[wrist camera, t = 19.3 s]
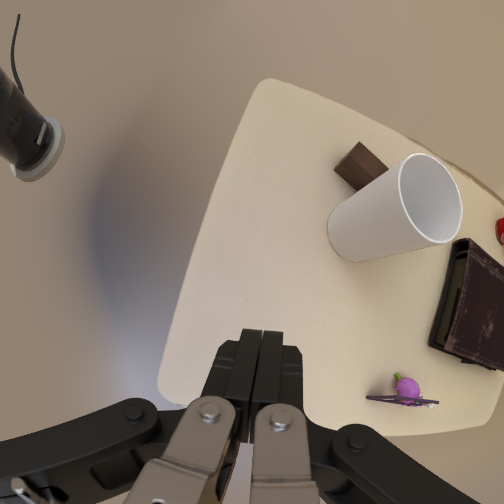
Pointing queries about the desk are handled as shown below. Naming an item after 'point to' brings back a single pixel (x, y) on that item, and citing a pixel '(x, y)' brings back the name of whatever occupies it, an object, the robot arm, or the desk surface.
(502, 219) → the soda can
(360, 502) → the robot arm
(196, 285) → the desk surface
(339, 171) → the bar
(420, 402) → the packaged eggplant toy
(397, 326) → the desk surface
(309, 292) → the desk surface
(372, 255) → the cup
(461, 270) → the diary
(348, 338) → the desk surface
